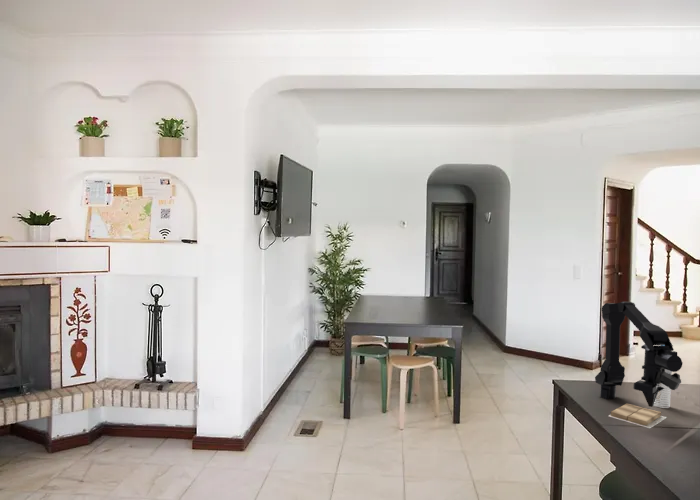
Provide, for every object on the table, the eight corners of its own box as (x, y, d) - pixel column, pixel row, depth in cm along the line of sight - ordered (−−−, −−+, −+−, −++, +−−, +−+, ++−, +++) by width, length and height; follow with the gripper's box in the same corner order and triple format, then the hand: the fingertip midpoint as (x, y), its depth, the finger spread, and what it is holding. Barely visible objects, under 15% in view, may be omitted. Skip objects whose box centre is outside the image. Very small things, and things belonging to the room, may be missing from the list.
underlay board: (626, 408, 196) (626, 406, 196) (666, 420, 186) (666, 417, 186) (607, 418, 185) (608, 415, 185) (649, 431, 175) (650, 428, 175)
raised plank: (643, 411, 191) (643, 407, 191) (661, 416, 186) (661, 411, 186) (627, 420, 181) (627, 416, 181) (646, 425, 176) (646, 421, 176)
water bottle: (672, 411, 195) (676, 347, 194) (653, 409, 197) (657, 346, 195) (665, 405, 202) (669, 343, 201) (646, 403, 203) (650, 342, 202)
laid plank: (626, 407, 195) (627, 403, 195) (642, 411, 191) (642, 407, 191) (610, 415, 185) (610, 411, 185) (626, 420, 181) (626, 416, 181)
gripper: (669, 373, 169) (667, 419, 170) (687, 364, 181) (684, 407, 182) (634, 365, 178) (631, 409, 178) (653, 358, 190) (650, 398, 190)
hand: (650, 406), depth 182 cm, fingers closed
